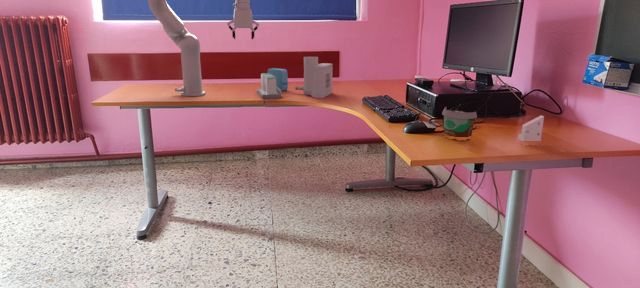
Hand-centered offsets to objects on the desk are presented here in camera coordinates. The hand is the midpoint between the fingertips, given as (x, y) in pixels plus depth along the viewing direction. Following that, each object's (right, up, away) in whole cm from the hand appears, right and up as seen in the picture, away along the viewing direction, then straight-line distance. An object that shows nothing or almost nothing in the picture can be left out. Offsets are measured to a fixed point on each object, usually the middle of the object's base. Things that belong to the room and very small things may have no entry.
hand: (243, 39), depth 239 cm
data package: (+18, -27, +13) cm, 34 cm away
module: (+14, -29, -5) cm, 33 cm away
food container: (+89, -56, -87) cm, 136 cm away
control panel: (+38, -31, -2) cm, 49 cm away
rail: (+14, -31, -4) cm, 35 cm away
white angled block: (+112, -58, -93) cm, 157 cm away
